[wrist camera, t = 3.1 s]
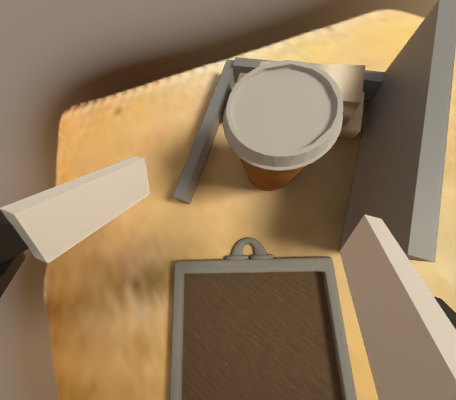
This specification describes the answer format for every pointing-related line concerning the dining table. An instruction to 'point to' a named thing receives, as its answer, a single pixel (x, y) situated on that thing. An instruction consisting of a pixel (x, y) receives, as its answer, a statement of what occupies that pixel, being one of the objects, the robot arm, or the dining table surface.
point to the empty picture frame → (258, 329)
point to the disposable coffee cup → (282, 120)
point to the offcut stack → (344, 93)
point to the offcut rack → (381, 136)
